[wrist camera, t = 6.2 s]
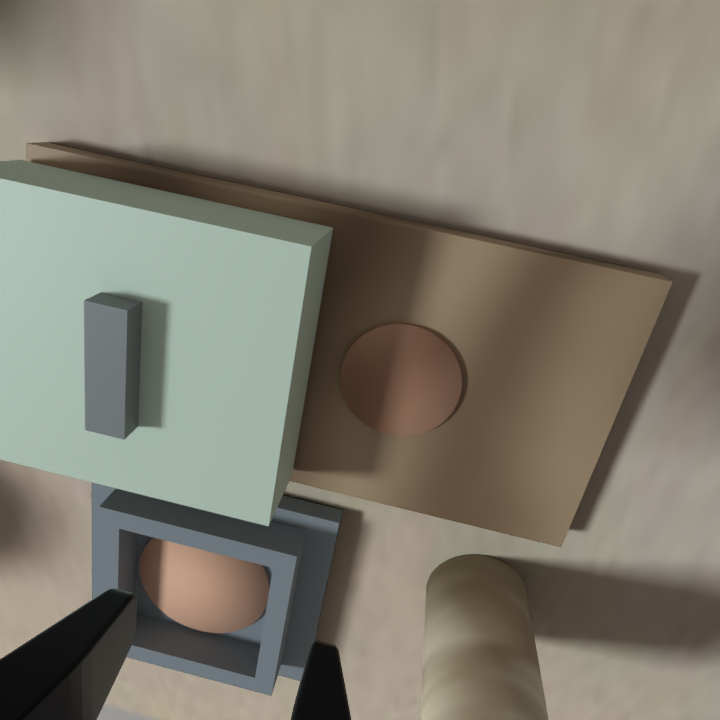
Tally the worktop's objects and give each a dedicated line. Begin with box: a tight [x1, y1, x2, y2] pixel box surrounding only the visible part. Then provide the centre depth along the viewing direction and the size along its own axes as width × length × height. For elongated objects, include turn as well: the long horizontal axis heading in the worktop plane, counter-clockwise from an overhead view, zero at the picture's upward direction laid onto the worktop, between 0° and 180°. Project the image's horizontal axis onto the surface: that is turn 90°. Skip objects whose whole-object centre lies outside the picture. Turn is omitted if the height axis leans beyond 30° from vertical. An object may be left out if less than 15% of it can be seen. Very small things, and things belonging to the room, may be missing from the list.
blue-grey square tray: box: [92, 482, 343, 696], centre depth 23 cm, size 10×9×2 cm
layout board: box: [26, 142, 673, 547], centre depth 19 cm, size 20×10×1 cm, turn 79°
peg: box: [421, 555, 548, 720], centre depth 19 cm, size 4×4×8 cm
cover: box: [0, 160, 333, 526], centre depth 17 cm, size 10×9×4 cm
